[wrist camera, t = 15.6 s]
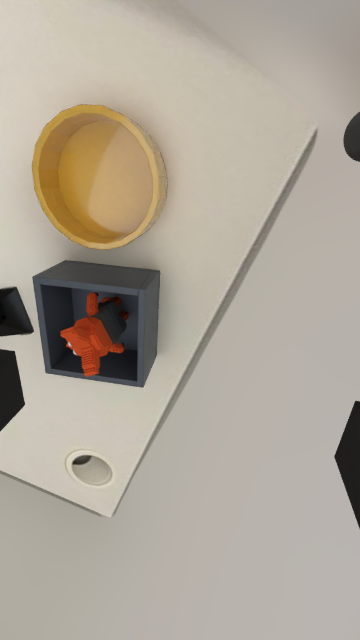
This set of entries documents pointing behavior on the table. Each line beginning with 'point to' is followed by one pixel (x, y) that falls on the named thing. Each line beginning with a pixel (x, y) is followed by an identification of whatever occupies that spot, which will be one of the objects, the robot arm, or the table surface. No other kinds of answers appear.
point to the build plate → (13, 314)
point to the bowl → (98, 176)
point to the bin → (70, 305)
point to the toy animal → (97, 332)
